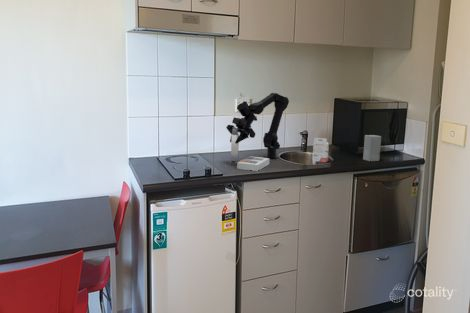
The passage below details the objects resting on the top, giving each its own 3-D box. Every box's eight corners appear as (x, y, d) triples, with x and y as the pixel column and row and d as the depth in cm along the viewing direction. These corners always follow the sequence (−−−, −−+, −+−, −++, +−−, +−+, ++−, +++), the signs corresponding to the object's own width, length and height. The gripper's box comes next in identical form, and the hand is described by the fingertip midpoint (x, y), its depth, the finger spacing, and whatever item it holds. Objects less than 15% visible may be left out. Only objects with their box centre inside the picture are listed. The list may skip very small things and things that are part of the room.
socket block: (250, 161, 255) (250, 155, 255) (269, 164, 251) (269, 157, 250) (236, 168, 238) (237, 161, 237) (257, 171, 233) (257, 164, 232)
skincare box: (369, 161, 264) (371, 136, 261) (361, 159, 271) (363, 134, 267) (380, 161, 268) (382, 136, 264) (372, 158, 274) (374, 134, 271)
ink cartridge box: (327, 161, 263) (329, 137, 260) (325, 162, 259) (327, 138, 256) (314, 159, 267) (316, 136, 264) (312, 160, 263) (313, 137, 260)
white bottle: (231, 154, 247) (232, 128, 244) (238, 154, 246) (239, 128, 243) (230, 155, 243) (231, 129, 240) (237, 156, 242) (238, 129, 239)
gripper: (228, 110, 249) (214, 131, 243) (252, 113, 236) (238, 135, 230) (237, 123, 256) (224, 143, 250) (261, 126, 243) (247, 148, 238)
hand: (233, 142), depth 242 cm, fingers closed on white bottle, 4 cm apart
